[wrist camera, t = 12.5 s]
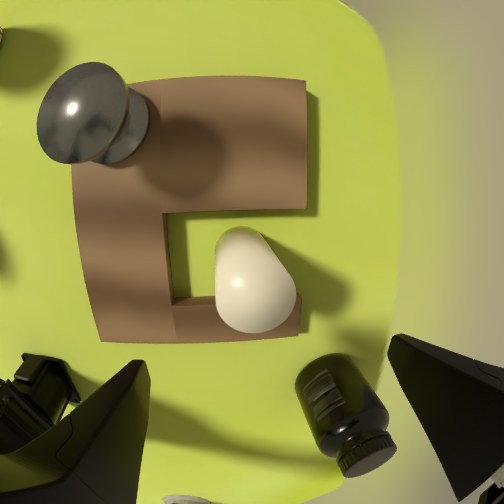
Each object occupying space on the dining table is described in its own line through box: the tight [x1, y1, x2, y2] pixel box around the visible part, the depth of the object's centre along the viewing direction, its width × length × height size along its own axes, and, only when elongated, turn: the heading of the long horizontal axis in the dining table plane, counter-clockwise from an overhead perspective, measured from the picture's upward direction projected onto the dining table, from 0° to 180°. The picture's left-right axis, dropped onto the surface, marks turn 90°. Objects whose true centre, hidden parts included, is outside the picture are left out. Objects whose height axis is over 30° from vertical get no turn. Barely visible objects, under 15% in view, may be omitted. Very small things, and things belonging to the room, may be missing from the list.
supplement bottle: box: [295, 354, 397, 478], centre depth 20 cm, size 7×7×12 cm
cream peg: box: [215, 226, 296, 333], centre depth 17 cm, size 4×4×8 cm
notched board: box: [71, 76, 307, 344], centre depth 19 cm, size 20×17×2 cm
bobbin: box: [37, 62, 150, 164], centre depth 13 cm, size 6×6×6 cm
